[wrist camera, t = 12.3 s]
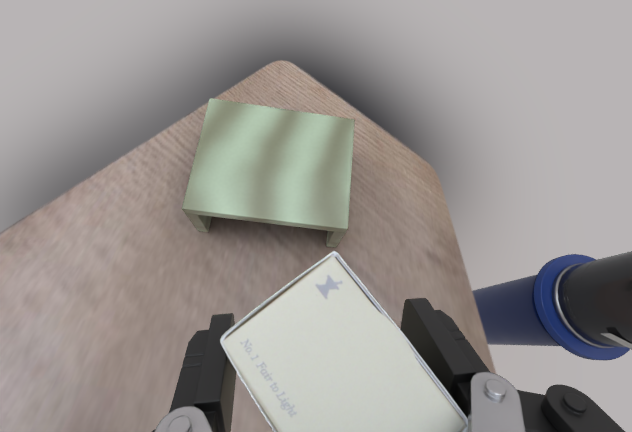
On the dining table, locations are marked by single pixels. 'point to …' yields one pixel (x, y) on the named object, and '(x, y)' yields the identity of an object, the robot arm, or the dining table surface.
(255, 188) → the shelf
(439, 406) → the cosmetic box
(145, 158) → the dining table surface
